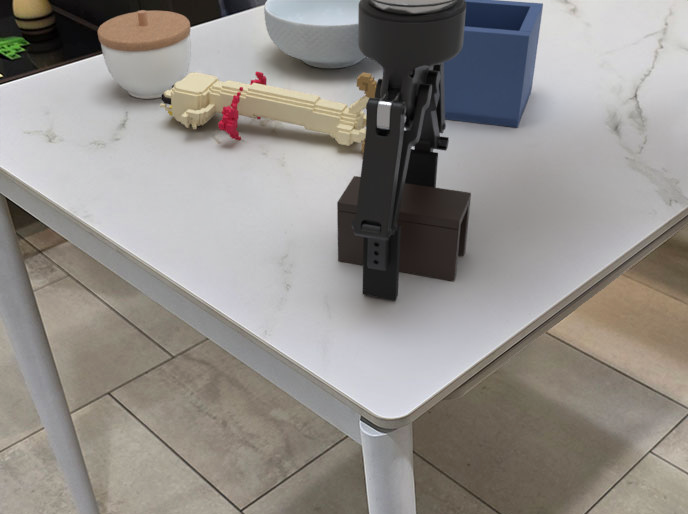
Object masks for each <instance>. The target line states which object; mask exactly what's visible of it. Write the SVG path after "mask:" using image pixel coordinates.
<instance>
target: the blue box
mask: <svg viewBox="0 0 688 514" xmlns="http://www.w3.org/2000/svg"><path fill="white" fill-rule="evenodd" d="M465 2H466V15H465V27H464V39H463V46H462V49H461V51H460V52H459V53H458V55H456V56H455V57H454V58H452V59H451V60H449V61H447V62H444V95H445V120H450V121H457V122H466V123H474V124H483V125H484V124H485V125H493V126H500V127H501V126H502V127H510V128H519V126H520V123H521V120H522V118H523V115H524V112H525V109H526V107H527V104H528V101H529V98H530V96H531V93H532V90H533V82H534V74H535V68H536V60H537V54H538V44H539V39H540V30H541V22H542V16H543V7H544V3H543V2H542V3H541V2H527V1H514V0H513V1H512V0H465ZM383 73H384V70H383V69H382V74H383Z"/></svg>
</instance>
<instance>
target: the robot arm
mask: <svg viewBox="0 0 688 514" xmlns="http://www.w3.org/2000/svg"><path fill="white" fill-rule="evenodd" d="M465 15H466V2H465V0H361V1H360V2H359V13H358V46H359V49H360V51H361V52H362V53H363V55H364V56H366V57H367V59H368V60H370V61H373V62H375V63H377V64H378V65H379V66H380V67H382V71H383V70H384V73H383V72H382V78H378V79H377V80H376V81H377V85H376V91H375V98H371V97H370V98H369V100H368V103H367V104H366V108H365V110H366V113H365V115H366V127H365V129H366V136H365V145H364V153H363V152H362V162H361V170H360V177H361V178H360V186H359V195H358V203H357V211H356V220H352V228H353V229H354V234H355V235H357V236H363V265H362V295H364V296H369V297H374V298H379V299H385V300H390V301H396V300H397V298H398V296H399V278H400V277H399V276H400V272H399V259H400V238H401V226H398V224H397V222H398V217H399V212H400V206H401V201H402V195H403V190H404V185H405V183H406V184H413V185H420V186H427V187H434V188H437V187H436V186H437V173H438V160H439V152H436V151H437V150H438V151H444V152H445V151H446V152H447V150H448V148H449V140H450V137H447V136H441V134H444V133H445V132H444V131H445V130H446V127H447V124H446V119H445V95H444V62H447V61H449V60H451V59H452V58H454V57H455V56H456V55H458V53H459V52H460V51H461V49H462V46H463V39H464V27H465ZM412 147H414V149H413V148H412ZM434 150H436V151H434Z"/></svg>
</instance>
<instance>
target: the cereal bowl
mask: <svg viewBox="0 0 688 514" xmlns="http://www.w3.org/2000/svg"><path fill="white" fill-rule="evenodd" d="M360 1H361V0H266V1H265V3H264V6H263V15H264V21H265V22H264V23H265V27H266V31H267V33H268V36H269V38H270V40H271V41H272V43H273V44H274V45H275V47H277V49H279V50H280V51H281V52H283V53H284V54H285V55H288V56H290V57H292V58H294V59H297V60H301V61H302V62H303V63H304V64H306V65H308V66H311V67H313V68H319V69H342V68H348V67H351V66H353V65H357V64H359V63H360V62H362V60H363V59H366V58H367V57H366V56H364V55H363V53H362V52H361V51H360V49H359V46H358V13H359V2H360ZM367 59H368V58H367Z"/></svg>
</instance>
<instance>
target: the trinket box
mask: <svg viewBox="0 0 688 514" xmlns="http://www.w3.org/2000/svg"><path fill="white" fill-rule="evenodd" d="M97 36H98V41H99V43H100V47H101V51H102V52H101V53H102V57H103V59H104V63H105V66H106V68H107V70H108V73H109V74H110V76H111V77H112V79H113V81H114V82H115V83H116V84H117V85H118V86H120V87H121V88H122V89H124V90H125V91H127V93H128V95H129V96H131V97H134V98H136V99H142V100H151V99H160V98H162V96H161V95H162V94H163V93H164V92H165V91H167V90H171V89H172V86H173V85H174V84H175V83H176V82H177V81H179V82H180V81H181V80H182V79H183V78H185V77H186V76H187V75H188V72H189V69H190V66H191V59H192V38H191V22H190V20H189V18H187V16H186V15H183V14H180V13H178V12H174V11H168V10H145V9H141V10H137V11H134V12H128V13H124V14H120V15H117V16H114V17H112V18H110V19H108V20H106V21H104V22H103V23H102V24H100V25H99V27H98V29H97Z"/></svg>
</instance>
